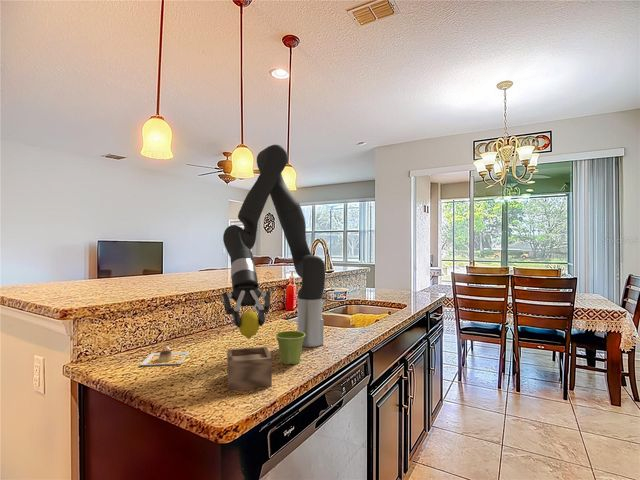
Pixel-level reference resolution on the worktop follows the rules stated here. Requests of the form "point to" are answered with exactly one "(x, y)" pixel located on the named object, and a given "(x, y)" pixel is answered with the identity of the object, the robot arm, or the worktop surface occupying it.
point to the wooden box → (249, 368)
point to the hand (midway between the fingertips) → (250, 324)
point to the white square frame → (164, 357)
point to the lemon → (249, 324)
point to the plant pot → (290, 346)
